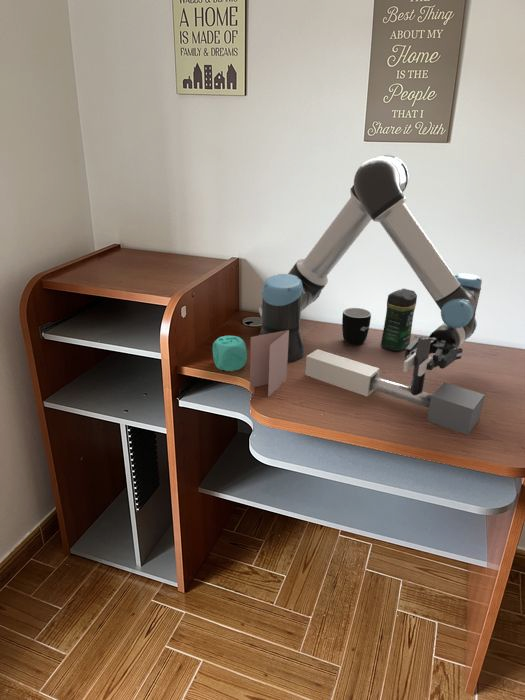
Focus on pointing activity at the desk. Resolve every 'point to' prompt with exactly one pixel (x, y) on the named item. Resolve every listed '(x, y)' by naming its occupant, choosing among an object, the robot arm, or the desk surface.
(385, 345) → the coffee jar
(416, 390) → the slide bolt
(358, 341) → the mug
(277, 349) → the greeting card
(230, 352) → the decorative dice
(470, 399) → the socket block
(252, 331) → the desk surface
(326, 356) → the elongated cream cuboid
